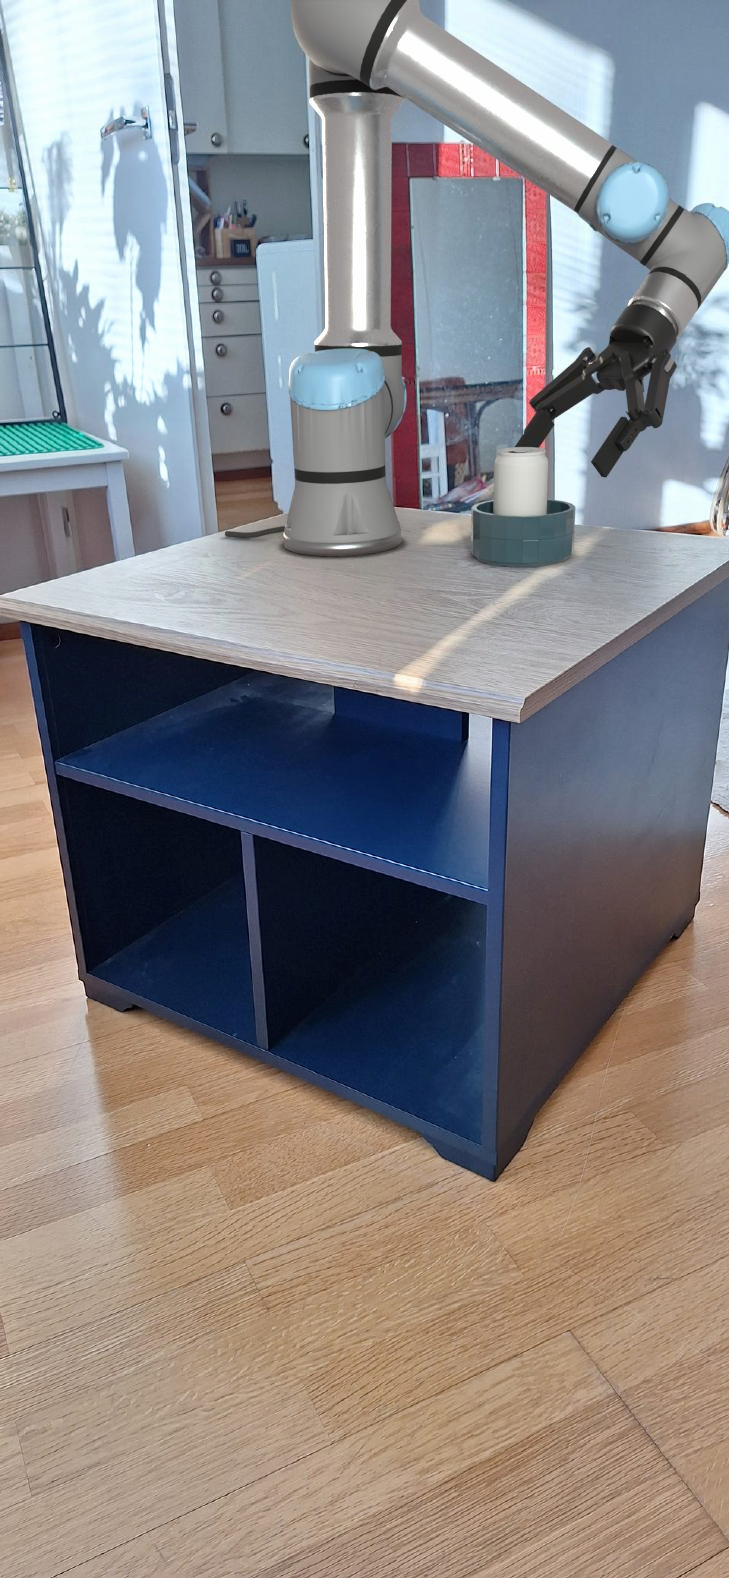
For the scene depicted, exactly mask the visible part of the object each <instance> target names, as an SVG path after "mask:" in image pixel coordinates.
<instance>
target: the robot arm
mask: <svg viewBox="0 0 729 1578" xmlns="http://www.w3.org/2000/svg"><path fill="white" fill-rule="evenodd" d="M290 19H291V25H292V30H293V33H294V36H295V39H296V41H297V43H298V45H299V48H300V49H301V50H302V51H303V53H304V54H305V56H307V58H308V79H309V80H308V82H309V85H308V86H309V104H310V105H311V106H312V108H313V109H314V110H315V111H316V112H317V114H318V115H319V116H320V118H321V120H322V168H323V169H322V171H323V231H324V232H323V233H324V235H323V237H324V293H325V294H324V296H325V297H324V299H325V328H324V330H323V331H322V333H321V334H320V335H319V336H318V337H317V338H316V340H315V341H314V352H307V353H304V354H302V355H299V356H297V357H296V358H294V359H293V361H292V362H291V364H290V366H289V372H288V374H289V375H288V376H289V377H288V379H289V380H288V384H287V391H288V395H289V399H290V400H289V401H290V403H289V404H290V421H291V423H290V424H291V438H292V439H291V440H292V455H293V469H294V470H293V471H294V472H293V473H294V490H293V493H292V496H291V501H290V505H289V509H288V514H287V518H286V524H285V525H281V526H276V527H270V528H265V529H261V530H256V531H249V532H246V531H245V532H243V531H233V530H225V531H224V536H225V537H227V538H237V539H253V538H259V537H263V536H268V535H272V534H279V533H283V544H284V545H283V546H284V548H285V549H286V550H288V551H290V552H293V553H297V554H301V555H308V556H318V557H319V556H320V557H321V556H322V557H344V556H345V557H346V556H347V557H348V556H349V557H350V556H360V555H361V556H362V555H369V554H376V553H381V552H385V551H388V550H391V549H394V548H397V547H398V546H400V544H402V528H401V523H400V521H399V520H398V516H397V513H396V509H395V506H394V503H393V502H394V501H393V500H392V497H391V494H390V491H389V488H388V485H387V476H386V474H387V473H386V469H387V468H386V439H387V438H389V437H390V436H391V435H392V434H393V433H394V431H396V429H397V428H398V427H399V425H400V423H401V421H402V419H403V417H404V413H405V412H406V407H407V401H408V400H407V398H408V397H407V393H408V392H407V389H406V382H405V381H404V376H403V374H402V373H403V371H402V370H403V369H402V368H403V367H402V366H403V363H402V362H403V361H402V359H403V352H402V351H403V349H402V348H403V344H402V343H403V341H402V340H401V339H400V337H399V336H398V335H397V334H396V333H395V332H394V331H393V329H392V326H391V323H392V321H391V320H392V319H391V317H392V316H391V314H392V312H391V307H392V306H391V304H392V302H391V301H392V300H391V299H392V293H391V292H392V285H391V284H392V163H393V162H392V159H393V158H392V157H393V156H392V153H393V151H392V149H393V148H392V146H393V145H392V144H393V143H392V142H393V140H392V135H393V133H392V132H393V131H392V130H393V118H394V116H395V114H396V113H397V112H398V111H399V110H400V109H401V107H402V106H403V105H404V104H405V100H406V101H408V102H409V103H411V104H412V105H414V106H415V107H417V108H419V109H420V110H421V111H423V112H425V113H426V114H428V115H429V116H431V117H432V118H434V119H435V120H436V121H438V122H440V123H441V124H443V125H444V126H445V127H446V128H449V129H450V130H451V131H453V132H454V133H456V134H458V135H459V136H460V137H462V138H463V139H465V140H467V141H468V142H470V143H471V144H472V145H474V146H476V147H477V148H479V150H482V151H483V152H485V153H486V154H487V155H489V156H491V157H492V158H493V159H495V160H496V161H498V162H499V163H500V164H502V165H504V166H505V167H507V168H508V169H510V170H512V171H513V172H515V173H516V174H518V175H520V177H522V178H524V179H525V180H527V181H528V182H529V183H531V184H533V185H534V186H536V187H537V188H539V189H540V190H542V191H543V192H544V193H546V194H547V195H549V196H551V197H552V198H554V199H555V200H556V201H558V202H560V203H561V204H563V205H564V206H565V207H567V208H568V209H570V210H572V211H573V212H574V213H576V215H578V217H579V218H580V219H581V220H583V221H584V222H585V223H586V224H587V225H588V226H589V227H590V228H591V229H592V231H594V232H597V233H598V234H600V235H602V236H603V237H605V239H607V240H608V241H610V242H611V243H612V244H614V245H615V246H616V247H618V249H621V250H622V251H623V252H625V253H626V254H628V255H629V256H631V257H632V258H633V259H635V260H636V261H637V262H639V263H640V264H641V265H642V266H644V267H645V268H647V269H648V270H649V273H648V274H647V275H646V276H645V278H644V279H643V281H642V282H641V283H640V285H639V286H638V287H637V289H636V291H635V292H634V293H633V295H632V296H631V298H630V300H629V301H628V304H627V306H626V307H625V308H624V309H623V311H622V312H621V313H620V315H619V316H618V318H617V320H616V321H615V323H613V326H612V327H611V329H610V332H609V339H608V345H607V346H606V347H605V348H604V349H603V350H602V351H600V353H598V352H594V351H593V349H592V348H591V347H590V346H588V347H585V348H584V349H583V350H582V351H581V353H580V354H579V355H578V356H577V357H576V358H575V360H573V362H571V364H569V365H568V366H567V367H566V368H565V369H563V371H561V372H560V373H559V374H558V375H556V377H555V378H553V380H551V381H550V382H549V383H548V384H547V385H545V386H543V388H542V389H541V390H540V391H538V392H537V393H536V394H535V395H534V396H533V397H531V399H530V400H529V401H528V402H529V403H528V405H529V406H530V407H531V408H532V409H533V411H534V414H533V416H532V418H530V420H529V422H528V423H527V425H526V426H525V428H524V430H523V434H522V435H521V437H520V438H519V440H518V441H517V442H516V444H515V445H514V447H534V448H541V446H542V445H543V443H544V442H545V440H546V438H547V437H548V436H549V434H550V432H551V431H552V430H553V428H554V426H555V422H553V421H554V420H555V419H557V418H559V417H560V416H561V415H563V414H564V413H566V412H567V411H569V410H571V409H572V408H573V407H575V406H577V405H578V404H579V403H581V402H583V401H584V400H586V399H587V398H589V397H591V396H592V395H593V394H594V395H599V394H601V393H602V392H604V391H612V390H613V391H614V390H617V391H618V392H625V397H626V406H627V411H625V413H626V415H627V416H628V418H629V419H628V418H627V417H626V416H620V418H619V419H618V420H617V422H616V423H615V425H614V426H613V428H612V429H611V431H610V432H609V433H608V435H607V437H606V439H605V440H604V442H602V445H601V446H600V447H599V449H598V450H597V451H596V453H595V454H594V456H593V457H592V459H591V460H590V463H591V464H592V465H593V467H594V469H595V470H596V471H597V473H598V475H600V477H601V478H607V477H608V476H609V474H610V473H611V472H612V471H613V468H614V467H615V465H616V464H617V463H618V461H619V460H620V458H621V457H622V455H623V453H624V452H627V451H628V450H629V449H630V448H631V447H632V445H633V444H634V441H636V439H637V437H638V436H639V434H640V433H641V432H644V431H646V429H647V428H649V427H652V428H653V429H658V428H660V427H661V426H662V424H663V421H664V415H665V410H666V403H667V398H668V392H669V388H670V387H669V386H670V381H671V379H672V376H673V375H674V373H675V371H676V369H677V367H678V365H677V362H676V361H675V359H674V358H673V356H672V355H671V351H672V350H673V348H674V347H675V345H676V343H677V341H678V339H679V338H680V337H681V336H682V334H683V333H684V331H685V330H686V329H687V326H688V325H689V323H690V322H691V321H692V319H693V317H694V316H695V314H696V313H697V312H698V310H699V309H700V308H701V306H702V304H703V303H704V301H705V300H706V299H707V297H708V296H709V294H710V293H711V292H712V290H713V289H714V287H715V286H716V284H717V283H718V281H719V280H720V279H721V277H722V276H723V274H724V273H725V271H726V270H727V269H728V267H729V210H728V209H727V208H725V207H723V206H716V205H715V204H714V203H713V202H703V203H700V204H697V205H695V207H693V208H692V209H691V210H688V209H687V208H684V207H683V206H681V205H679V204H678V203H677V202H675V201H674V200H673V199H672V198H670V197H669V188H668V185H667V182H666V181H665V179H664V178H663V175H662V174H661V172H660V171H658V170H657V169H656V168H654V167H653V166H652V165H650V164H648V163H646V162H640V161H638V160H636V159H635V158H634V157H632V156H630V155H629V154H628V153H627V152H625V151H623V150H622V149H620V148H618V147H616V146H615V145H614V144H613V143H612V142H610V141H609V140H608V139H605V137H603V136H602V135H600V134H599V133H597V132H595V131H594V130H593V129H591V127H588V126H587V125H585V124H584V123H582V122H581V121H580V120H578V119H576V118H575V117H573V116H572V115H571V114H569V113H567V112H566V111H565V110H563V109H562V108H560V107H559V106H557V105H556V104H555V103H554V102H551V101H550V100H548V99H547V98H545V97H544V96H543V95H541V94H540V93H538V92H537V91H535V90H534V89H532V88H531V87H530V86H528V85H526V84H525V83H523V82H522V81H521V80H519V79H517V78H516V77H515V76H514V75H512V74H511V73H509V72H508V71H506V70H505V69H503V68H502V67H500V66H498V65H497V64H495V62H493V61H491V60H490V59H488V58H487V57H485V56H484V55H483V54H481V53H479V52H478V51H476V49H474V48H472V47H471V46H469V45H468V44H467V43H464V42H463V41H462V40H460V39H459V38H457V37H456V36H455V35H453V34H452V33H450V32H449V31H447V30H446V29H444V28H443V27H441V26H440V25H438V24H437V23H435V22H434V21H432V20H431V19H429V18H428V17H427V16H425V15H424V14H423V12H422V11H421V5H420V0H291V2H290ZM595 373H596V379H597V381H598V382H597V381H596V379H595V378H594V376H593V375H594V374H595ZM649 374H650V375H649ZM648 375H649V381H648V386H647V391H646V396H644V393H645V385H644V378H645V377H647V376H648Z"/></svg>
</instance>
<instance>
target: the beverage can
mask: <svg viewBox="0 0 729 1578" xmlns="http://www.w3.org/2000/svg"><path fill="white" fill-rule="evenodd" d="M546 453H547V450H546V448H541V447H539V448H534V447H515V446H514V447H504V448H500V449H497V456H496V457H495V459H494V461H493V500H494V501H493V514H498V515H513V516H529V515H545V514H547V499H548V492H549V491H548V489H549V487H548V485H549V463H550V462H549V458H548V457H547V456H546Z"/></svg>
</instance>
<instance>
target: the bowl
mask: <svg viewBox="0 0 729 1578" xmlns="http://www.w3.org/2000/svg"><path fill="white" fill-rule="evenodd" d="M493 501H494V499H492V500H485V501H481V502H479V503H478V502H477V503H475V504H474V505H472V506H471V512H470V513H471V515H470V517H471V518H470V519H471V521H470V522H471V524H470V529H471V530H470V553H471V555H472V556H474V557H475V559H476V560H477V561H479V562H480V563H484V564H487V565H491V566H497V567H508V568H536V567H546V566H552V565H557V564H561V563H563V562H566V561H567V560H568V559H569V557H571V556H572V555H573V553H574V551H575V549H574V548H575V530H576V529H575V527H576V506H575V505H574V504H573V503H571V502H568V501H564V500H558V499H551V498H547V514H545V515H529V516H513V515H498V514H493Z"/></svg>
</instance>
